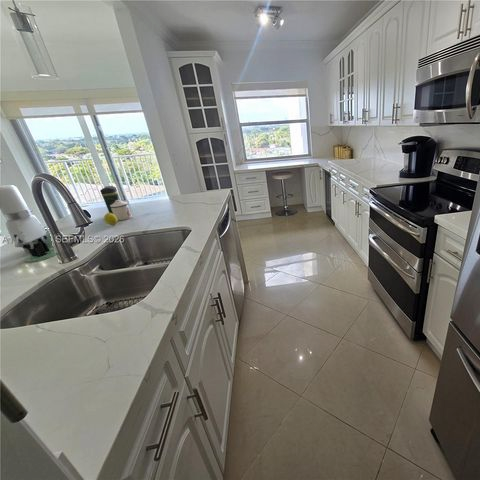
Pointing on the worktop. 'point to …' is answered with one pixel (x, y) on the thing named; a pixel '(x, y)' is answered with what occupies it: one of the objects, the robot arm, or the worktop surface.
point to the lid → (42, 251)
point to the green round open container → (49, 242)
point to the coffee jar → (110, 196)
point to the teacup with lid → (121, 210)
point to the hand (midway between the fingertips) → (41, 253)
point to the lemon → (110, 219)
